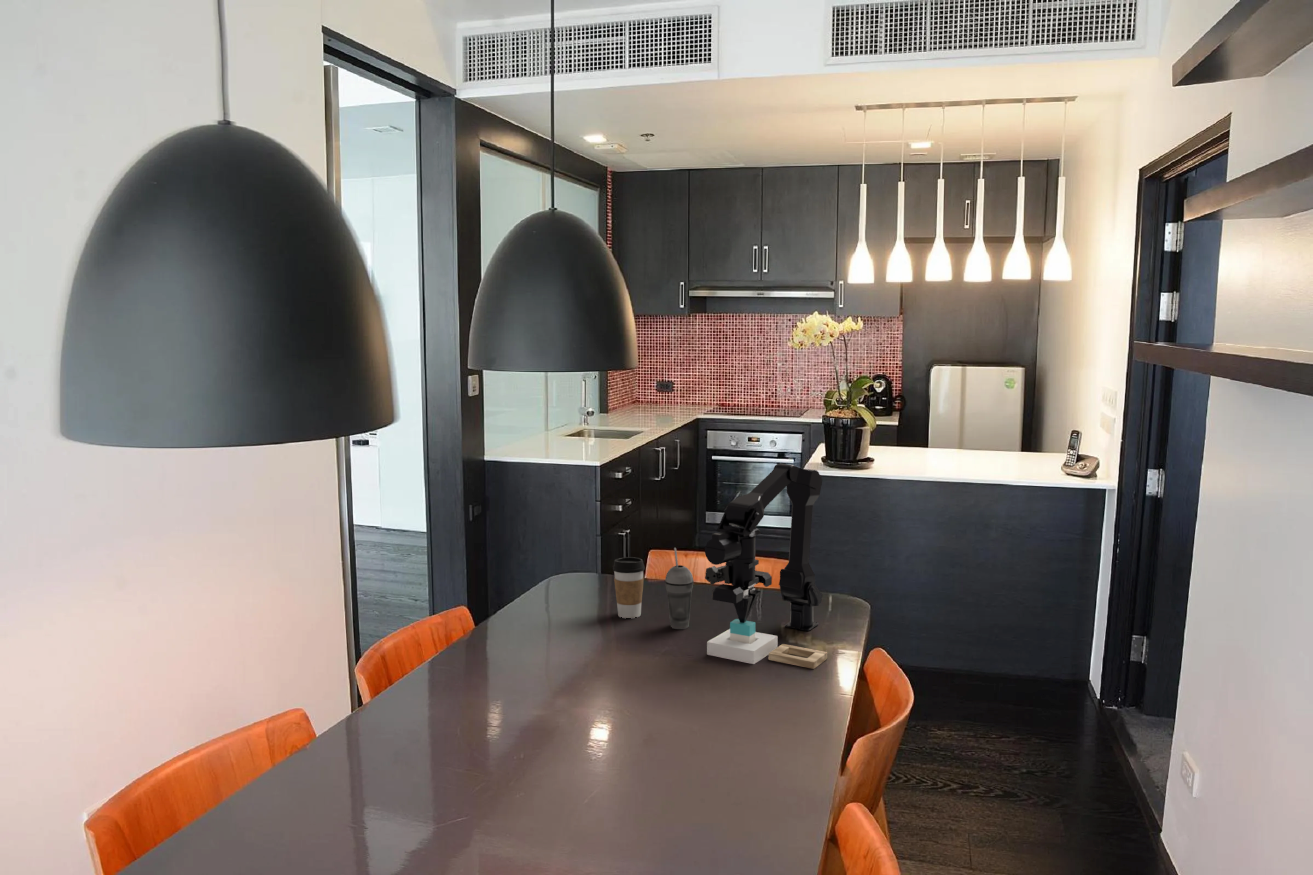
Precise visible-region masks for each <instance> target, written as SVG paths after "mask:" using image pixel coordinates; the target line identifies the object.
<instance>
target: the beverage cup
mask: <svg viewBox="0 0 1313 875" xmlns="http://www.w3.org/2000/svg"><path fill="white" fill-rule="evenodd" d="M673 551H674V558H675V565H674V566H672V567H671V568H669V570H668V571H667V572H666V574H665V579H664V583H665V590H666V593H667V603H668V604H667V606H668V614H669V615H668V616H669V622H670V628H671V627H672V629H675V630H685V629H688V628H689V624H690V618H691V605H692V604H691V603H692V593H693V592H692V591H693V587H694V583H695V580H694V577H693V576H694V575H693V573H692V571H691V570H690V569H689V568H688V567H687V566H685V565H681V564H679V563H678V562H679V561H678V552H677V548H676V547H674V548H673Z"/></svg>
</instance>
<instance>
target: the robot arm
mask: <svg viewBox="0 0 1313 875" xmlns="http://www.w3.org/2000/svg"><path fill="white" fill-rule="evenodd" d="M822 486H823V478H822V475H821V474H820V472H819V471H818V470H816V469H810V468H800V467H798V466H796V465H794V464H789V463H788V464H787V463H776V464H775V465H774V467H773V469H772V470H771V471H770V473H769V474H767V475H766V477H764V478H763V479H762V480H761V481H760V482H759V483H758V484H757V485H756V486H755V487H754V488H753V489H752V490H751V491H750V492H748V493H747V494H743V495H741V496H737V497H736V498H734V499H732V500H731V501H730V502H729V503H728V504H727V506H726V507H725V509H724V512H723V515H722V518H721V520H720V521H719V524H718V527H717V529H716V531H717V532H715V533H712V534H711V539H710V540H708V541H707V543H706V544H705V547H704V554H705V557H706V559H707V560H708V563H711V564H712V565H713V566H710V567H707V568H705V573H704V574H705V575H704V576H705V577H704V578H705V580H706V581H707V582H708V583H709V584H710V586H712V585H716V583H721V582H724V583H722V584H720V585H718V586H716V587H715V588H713V590H712V591H711V600H713V601H718V602H722V603H723V602H724V603H728V604H733V606H734V608H735V612H736V614H737V617H738V618H737V619H739V621H740V623H745V622H746V621H748V617H749V616H750V613H751V611H752V609H753V607H754V606H755V603H756V602H757V599H758V598H759V595H761V591H760V590H756V587H755V586H756V585H757V584H763V586H764V587H766V588H767V587H770V586H771V585H773V581H772V580H773V577H772V574H770V573H769V572H767V571H760V570H756V566H757V565H760V564H759V559H756V536H758V535H761V534H762V532H761V530H760V529H758V528H757V526H758V525H759V523H760V522H761V521H762V519H763V518H764V516H765V509H766V508H767V506H768V505H769V504H770V503H771V502H773V500H774V499H775V498H777V496H778V495H779V494H780V493H781V492H783V490H784V489H785V488H786V494H787V496H788V498H789V500H790V502H791V504H792V507H791V508H792V509H791V520H790V521H791V522H790V524H791V525H790V535H789V536H790V539H789V540H790V541H789V551H788V552H789V553H788V555H789V556H788V562H787V564H786V565H785V567H784V568H781V569H780V571H779V582H778V586H779V591H780V593H781V597H782V598H781V599H782V601H784V602H789V603H790V606H789V608H790V609H789V611H790V612H789V616H790V617H789V618H790V619H789V620H790V621H788V622H787V623H786V624H784V627H785V628H790V629H795V630H800V631H804V632H805V631H806V632H808V631H810V630H812V629H814V628H815V627H817V626H819V622H818V621H814V607H819V605H820V604H822V599H823V594H822V592H821V591H820V589H819V588H818V587H817V585H816V574H815V573H814V570H813V568H812V566H811V564H810V554H811V553H810V552H811V551H810V550H811V537H812V522H813V520H812V519H813V509H814V508H813V506H814V504H815V503H816V501H817V500H818V498H819V497H820V495H821V491H822V490H821V489H822ZM722 564H725V565H722ZM715 565H716V566H717V565H719V566H718V567H716V566H715ZM720 565H722V566H720ZM730 584H731V585H730Z"/></svg>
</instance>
